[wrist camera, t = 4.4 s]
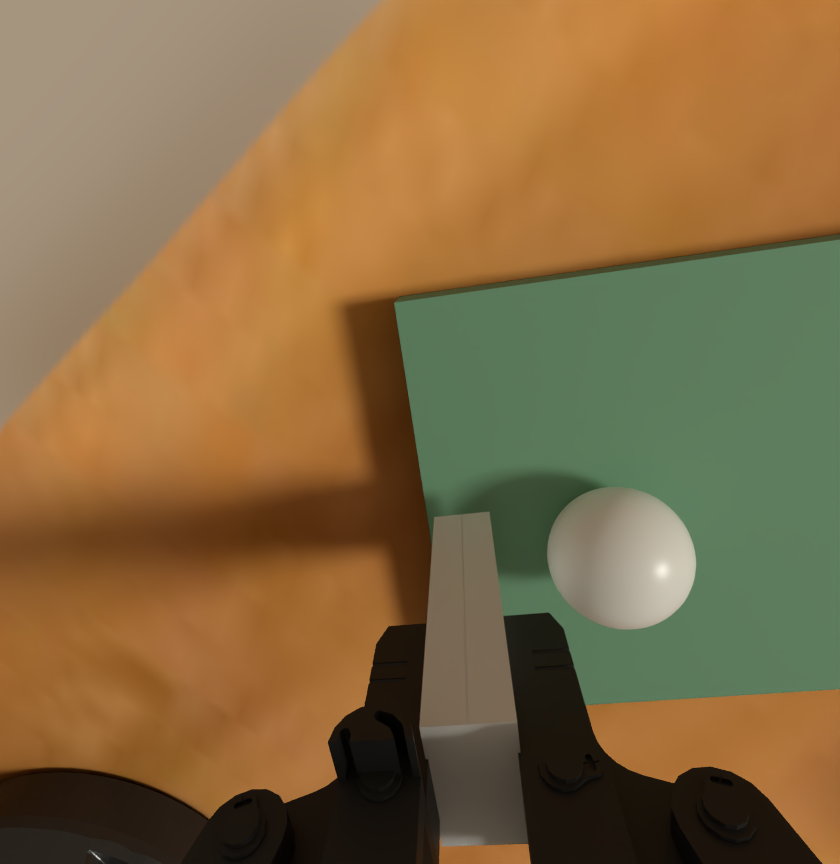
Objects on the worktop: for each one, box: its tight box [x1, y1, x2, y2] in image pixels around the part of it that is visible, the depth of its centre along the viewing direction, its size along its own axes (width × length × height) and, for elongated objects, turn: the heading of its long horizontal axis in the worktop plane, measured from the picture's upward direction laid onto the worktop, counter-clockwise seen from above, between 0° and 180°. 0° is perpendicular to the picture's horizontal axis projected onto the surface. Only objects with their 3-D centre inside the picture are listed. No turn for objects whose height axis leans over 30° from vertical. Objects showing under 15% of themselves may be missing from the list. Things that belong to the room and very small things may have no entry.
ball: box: [547, 487, 696, 630], centre depth 14 cm, size 4×4×4 cm
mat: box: [394, 234, 840, 705], centre depth 15 cm, size 24×14×2 cm, turn 98°
